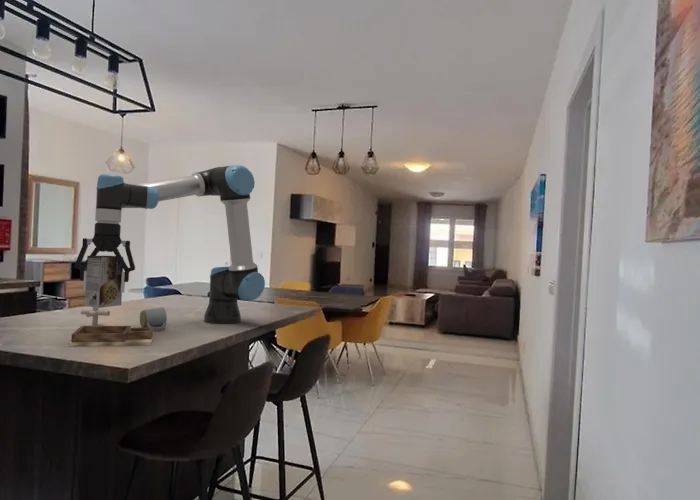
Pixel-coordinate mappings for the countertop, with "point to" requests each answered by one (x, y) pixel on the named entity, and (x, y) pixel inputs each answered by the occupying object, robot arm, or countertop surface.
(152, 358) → the countertop surface
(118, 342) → the board
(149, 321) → the ceramic mug
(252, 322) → the countertop surface
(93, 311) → the pipe connector
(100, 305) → the coffee box
